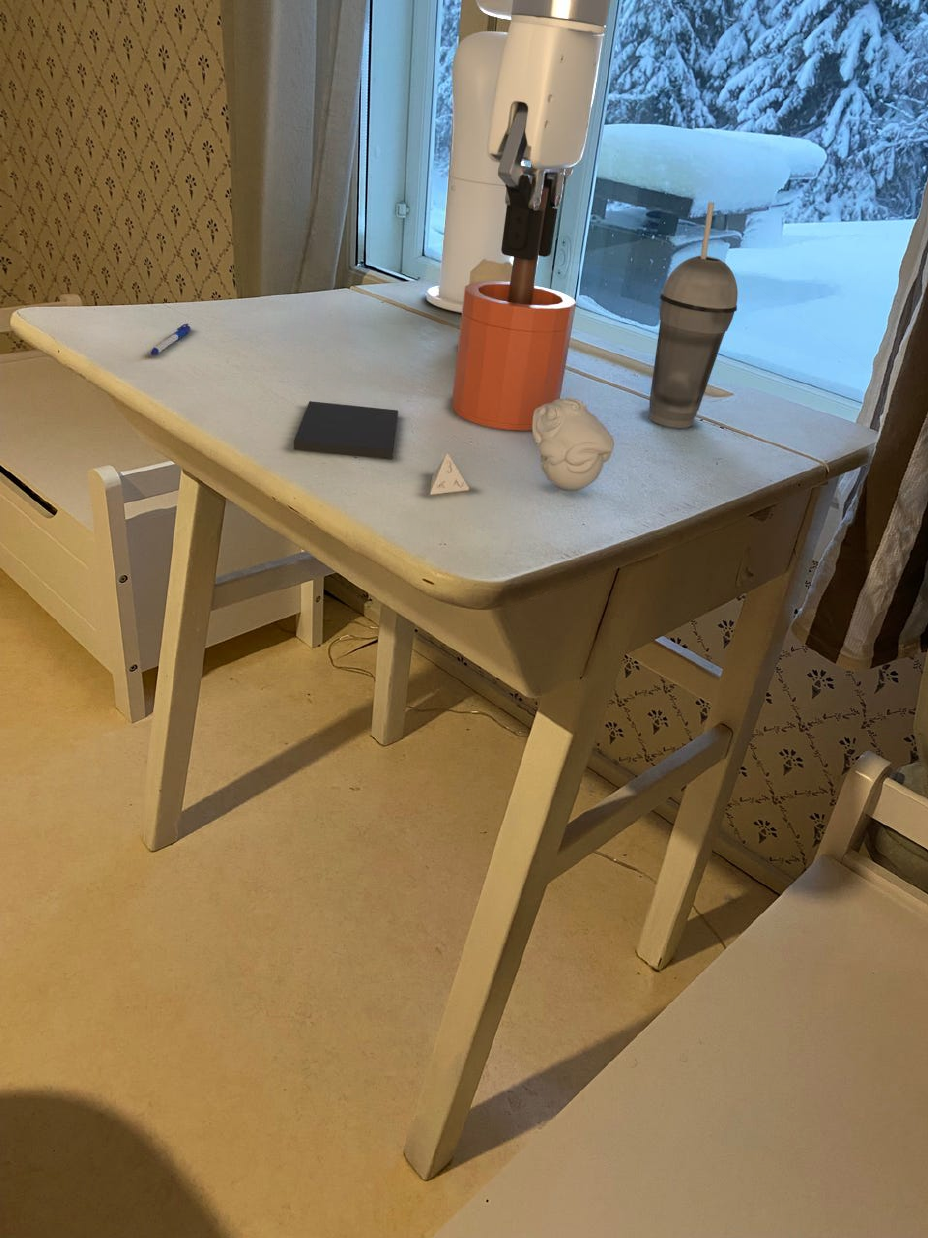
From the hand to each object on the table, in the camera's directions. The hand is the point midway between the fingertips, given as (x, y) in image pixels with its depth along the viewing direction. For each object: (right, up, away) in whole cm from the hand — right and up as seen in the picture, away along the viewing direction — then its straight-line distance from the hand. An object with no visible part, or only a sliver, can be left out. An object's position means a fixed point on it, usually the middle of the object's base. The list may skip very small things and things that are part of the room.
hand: (525, 253), depth 82 cm
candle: (-3, -2, +25) cm, 26 cm away
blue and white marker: (-36, -4, +14) cm, 39 cm away
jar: (-2, -12, +7) cm, 14 cm away
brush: (-1, -10, +6) cm, 12 cm away
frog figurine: (+3, -22, -7) cm, 23 cm away
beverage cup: (+15, -12, +11) cm, 23 cm away
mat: (-15, -16, -2) cm, 23 cm away
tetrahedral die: (-7, -22, -10) cm, 26 cm away
